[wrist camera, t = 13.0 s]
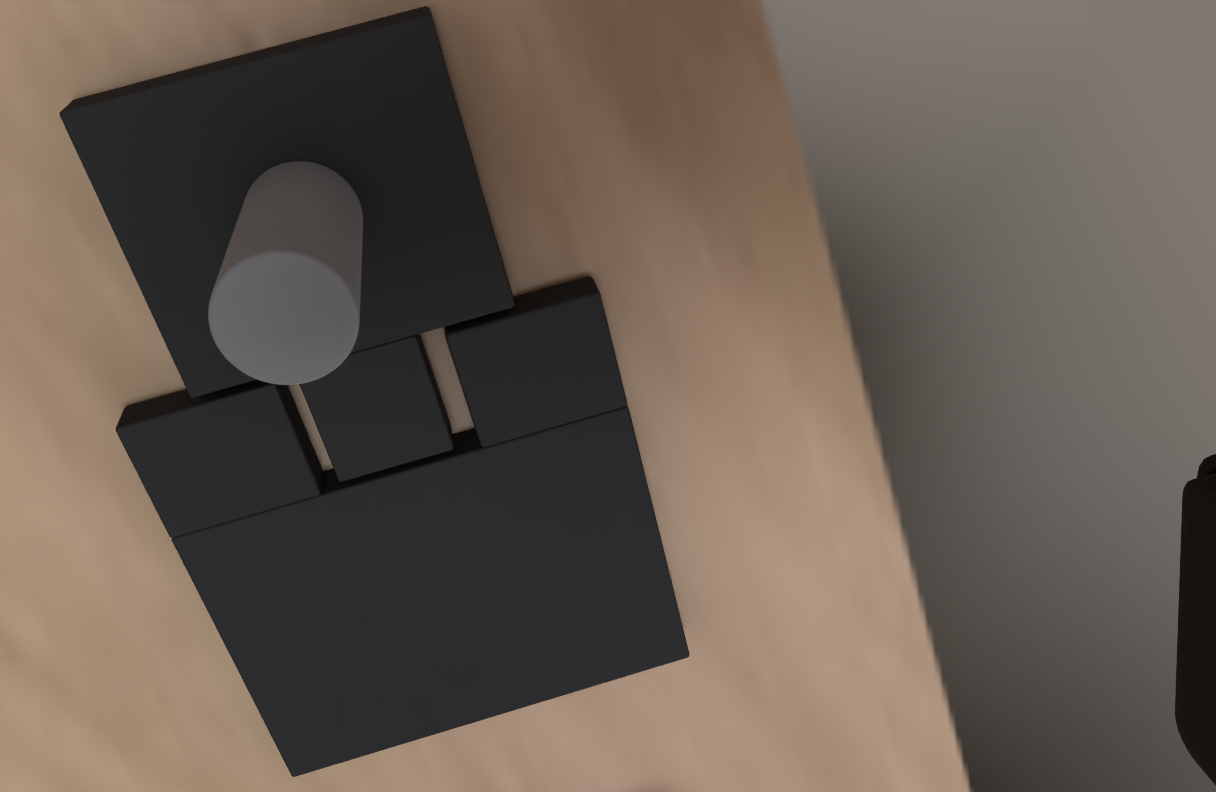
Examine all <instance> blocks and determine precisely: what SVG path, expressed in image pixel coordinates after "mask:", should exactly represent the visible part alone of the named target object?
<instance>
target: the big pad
mask: <svg viewBox="0 0 1216 792" xmlns="http://www.w3.org/2000/svg"><path fill="white" fill-rule="evenodd" d="M513 299H514V302H515V306H514V307H512V308H509V309H505V310H501V311H498V312H494V313H491V314H487V315H484V316H480V317H477V318H473V319H470V320H466V321H463V322H459V323H455V324H452V325H448V326H445V327H444V330H445V337H446V341H447V344H448V347H449V350H450V353H451V356H452V359H453V362H454V365H455V368H456V371H457V374H458V377H459V380H460V383H461V386H462V390H463V393H464V396H465V399H466V402H467V405H468V408H469V411H470V414H471V417H472V420H473V423H474V426H475V430H471V431H468V432H465V433H461V434H458V435H454V436H452V438H453V446H454V448H453V450H450V451H446V452H443V453H440V454H436V455H433V456H429V457H426V458H422V459H419V460H415V461H412V462H408V463H405V464H401V465H398V466H395V467H391V468H388V469H384V470H381V471H377V472H374V473H370V474H367V475H363V476H360V477H357V478H353V479H350V480H346V481H343V482H340V481H339V480H338V477H337V475H336V473H335V470H333V471H329V472H326V473H322V469H321V467H320V464H319V462H318V459H317V457H316V455H315V452H314V450H313V447H312V445H311V443H310V440H309V438H308V435H307V433H306V430H305V428H304V426H303V423H302V421H301V418H300V416H299V413H298V411H297V409H296V406H295V404H294V401H293V399H292V397H291V394H290V392H289V389H288V387H287V385H279V384H272V383H267V382H263V381H260V380H258V379H257V380H254V381H250V382H247V383H243V384H240V385H236V386H233V387H229V388H225V389H222V390H218V391H215V392H211V393H208V394H204V395H201V396H197V397H194V398H192V397H191V396H190V395H189V393H188V391H187V390H185V391H181V392H178V393H174V394H171V395H167V396H164V397H160V398H156V399H153V400H149V401H146V402H142V403H139V404H135V405H132V406H128V407H126V408H124V411H123V413H122V415H121V418H120V420H119V422H118V424H117V427H116V432H117V434H118V436H119V438H120V440H121V442H122V444H123V446H124V448H125V450H126V452H127V454H128V456H129V458H130V459H131V461H132V463H133V465H134V467H135V469H136V471H137V473H138V475H139V477H140V479H141V481H142V483H143V485H144V487H145V489H146V491H147V493H148V495H149V497H150V499H151V501H152V503H153V505H154V507H155V509H156V511H157V512H158V514H159V516H160V518H161V520H162V522H163V524H164V526H165V528H166V530H167V532H168V534H169V536H170V537H171V538H172V542H173V544H174V546H175V547H176V549H177V551H178V553H179V555H180V557H181V559H182V561H183V563H184V565H185V567H186V569H187V571H188V573H189V575H190V577H191V579H192V581H193V583H194V585H195V587H196V589H197V591H198V593H199V595H200V597H201V599H202V601H203V602H204V604H205V606H206V608H207V610H208V612H209V614H210V616H211V618H212V620H213V622H214V624H215V626H216V628H217V630H218V632H219V634H220V636H221V638H222V640H223V642H224V644H225V646H226V648H227V650H228V652H229V654H230V655H231V657H232V659H233V661H234V663H235V665H236V667H237V669H238V671H239V673H240V675H241V677H242V679H243V681H244V683H245V685H246V687H247V689H248V691H249V693H250V695H251V697H252V699H253V701H254V703H255V705H256V707H257V709H258V710H259V712H260V714H261V716H262V718H263V720H264V722H265V724H266V726H267V728H268V730H269V732H270V734H271V736H272V738H273V740H274V742H275V744H276V746H277V748H278V750H279V752H280V754H281V756H282V758H283V760H284V762H285V763H286V765H287V767H288V769H289V771H290V773H291V775H292V776H293V777H295V776H299V775H302V774H305V773H308V772H312V771H315V770H318V769H322V768H325V767H328V766H332V765H335V764H338V763H341V762H345V761H348V760H351V759H355V758H358V757H361V756H364V755H368V754H371V753H374V752H378V751H381V750H384V749H388V748H391V747H394V746H397V745H401V744H404V743H407V742H411V741H414V740H417V739H421V738H424V737H427V736H430V735H434V734H437V733H440V732H444V731H447V730H450V729H453V728H457V727H460V726H463V725H467V724H470V723H473V722H477V721H480V720H483V719H486V718H490V717H493V716H496V715H500V714H503V713H506V712H510V711H513V710H516V709H519V708H523V707H526V706H529V705H533V704H536V703H539V702H542V701H546V700H549V699H552V698H556V697H559V696H562V695H566V694H569V693H572V692H575V691H579V690H582V689H585V688H589V687H592V686H595V685H599V684H602V683H605V682H608V681H612V680H615V679H618V678H622V677H625V676H628V675H631V674H635V673H638V672H641V671H645V670H648V669H651V668H655V667H658V666H661V665H664V664H668V663H671V662H674V661H678V660H681V659H684V658H687V657H689V651H688V647H687V643H686V639H685V635H684V630H683V626H682V622H681V618H680V614H679V610H678V606H677V602H676V598H675V594H674V590H673V586H672V582H671V578H670V574H669V570H668V566H667V562H666V558H665V554H664V550H663V546H662V542H661V537H660V533H659V529H658V525H657V521H656V517H655V513H654V509H653V505H652V501H651V497H650V493H649V489H648V485H647V481H646V477H645V473H644V469H643V465H642V461H641V457H640V453H639V449H638V445H637V440H636V436H635V432H634V428H633V424H632V420H631V416H630V412H629V408H628V406H627V400H626V396H625V392H624V388H623V384H622V380H621V376H620V372H619V368H618V364H617V360H616V356H615V352H614V348H613V344H612V339H611V335H610V331H609V327H608V323H607V319H606V315H605V311H604V307H603V303H602V299H601V295H600V292H599V290H598V288H597V286H596V284H595V282H594V280H593V278H592V277H586V278H583V279H579V280H575V281H572V282H568V283H565V284H561V285H558V286H554V287H551V288H547V289H544V290H540V291H537V292H533V293H529V294H526V295H522V296H519V297H515V298H513Z"/></svg>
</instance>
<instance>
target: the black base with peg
mask: <svg viewBox="0 0 1216 792" xmlns="http://www.w3.org/2000/svg"><path fill="white" fill-rule="evenodd" d="M60 117H61V119H62V121H63V123H64V125H65V127H66V130H67V132H68V134H69V136H70V138H71V140H72V143H73V145H74V147H75V149H76V151H77V153H78V155H79V158H80V160H81V162H82V164H83V166H84V168H85V171H86V173H87V175H88V177H89V179H90V181H91V184H92V186H93V188H94V190H95V192H96V194H97V196H98V199H99V201H100V203H101V205H102V207H103V209H104V212H105V214H106V216H107V218H108V220H109V222H110V224H111V227H112V229H113V231H114V233H115V235H116V237H117V240H118V242H119V244H120V246H121V248H122V250H123V253H124V255H125V257H126V259H127V261H128V263H129V265H130V268H131V270H132V272H133V274H134V276H135V278H136V281H137V283H138V285H139V287H140V289H141V291H142V294H143V296H144V298H145V300H146V302H147V304H148V306H149V309H150V311H151V313H152V315H153V317H154V319H155V322H156V324H157V326H158V328H159V330H160V332H161V335H162V337H163V339H164V341H165V343H166V345H167V347H168V350H169V352H170V354H171V356H172V358H173V360H174V363H175V365H176V367H177V369H178V371H179V373H180V375H181V378H182V380H183V382H184V384H185V386H186V388H187V391H188V393H189V395H190V396H191V397H192V398H194V397H197V396H201V395H204V394H208V393H211V392H215V391H218V390H222V389H225V388H229V387H233V386H236V385H240V384H243V383H247V382H250V381H254V380H257V379H258V380H260V381H263V382H267V383H272V384H279V385H295V384H300V387H301V389H302V391H303V394H304V396H305V399H306V401H307V404H308V406H309V409H310V411H311V414H312V416H313V418H314V421H315V423H316V426H317V428H318V431H319V433H320V436H321V438H322V441H323V443H324V446H325V448H326V450H327V453H328V455H329V458H330V460H331V463H332V465H333V468H334V470H335V473H336V475H337V477H338V480H339V481H340V482H343V481H346V480H350V479H353V478H357V477H360V476H363V475H367V474H370V473H374V472H377V471H381V470H384V469H388V468H391V467H395V466H398V465H401V464H405V463H408V462H412V461H415V460H419V459H422V458H426V457H429V456H433V455H436V454H440V453H443V452H446V451H450V450H453V448H454V446H453V438H452V430H451V425H450V422H449V419H448V416H447V413H446V410H445V407H444V404H443V402H442V399H441V396H440V393H439V390H438V387H437V384H436V381H435V378H434V375H433V372H432V369H431V366H430V363H429V360H428V357H427V354H426V351H425V348H424V346H423V343H422V340H421V337H420V333H424V332H427V331H431V330H434V329H438V328H441V327H445V326H448V325H452V324H455V323H459V322H463V321H466V320H470V319H473V318H477V317H480V316H484V315H487V314H491V313H494V312H498V311H501V310H505V309H509V308H512V307H514V306H515V302H514V299H513V296H512V292H511V289H510V285H509V282H508V278H507V275H506V271H505V268H504V264H503V261H502V257H501V254H500V250H499V247H498V244H497V240H496V237H495V233H494V230H493V226H492V223H491V219H490V216H489V212H488V209H487V206H486V202H485V199H484V195H483V192H482V188H481V185H480V181H479V178H478V174H477V171H476V167H475V164H474V161H473V157H472V154H471V150H470V147H469V143H468V140H467V136H466V133H465V129H464V126H463V122H462V119H461V116H460V112H459V109H458V105H457V102H456V98H455V95H454V91H453V88H452V84H451V81H450V77H449V74H448V71H447V67H446V64H445V60H444V57H443V53H442V50H441V46H440V43H439V39H438V36H437V33H436V29H435V26H434V22H433V19H432V15H431V12H430V9H429V7H422V8H418V9H414V10H410V11H407V12H403V13H399V14H395V15H392V16H388V17H384V18H380V19H377V20H373V21H369V22H365V23H362V24H358V25H354V26H350V27H347V28H343V29H339V30H335V31H332V32H328V33H324V34H320V35H316V36H313V37H309V38H305V39H301V40H298V41H294V42H290V43H286V44H283V45H279V46H275V47H271V48H268V49H264V50H260V51H256V52H253V53H249V54H245V55H241V56H238V57H234V58H230V59H226V60H223V61H219V62H215V63H211V64H207V65H204V66H200V67H196V68H192V69H189V70H185V71H181V72H177V73H174V74H170V75H166V76H162V77H159V78H155V79H151V80H147V81H144V82H140V83H136V84H132V85H129V86H125V87H121V88H117V89H113V90H110V91H106V92H102V93H98V94H95V95H91V96H87V97H83V98H80V99H76V100H73V101H72V102H71V103H70V104H69V105H68V106H67V107H65V108H64V109H63V110H62V111H61V112H60Z"/></svg>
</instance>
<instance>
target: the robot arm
mask: <svg viewBox="0 0 1216 792" xmlns="http://www.w3.org/2000/svg"><path fill="white" fill-rule="evenodd" d="M1179 584H1180V585H1179V611H1178V643H1177V670H1176V699H1175V717H1176V723H1177V727H1178V731H1179V733H1180V736H1181V738H1182V741H1183V743H1184V744H1185V746H1186V748H1187V750H1188V751H1189V753H1190V754H1191V756H1192V757H1193V759H1194V760H1195V761H1196V762H1197V764H1198V765H1199V766H1200V767H1201V768H1202V769H1203V771H1204V772H1205V773H1206V774H1207V775H1208V777H1209V778H1210V779H1211V780H1212V782H1213V783H1214V784H1215V785H1216V454H1215V455H1211V456H1209V457H1207V458H1205V459H1204V460H1203V462H1202V463H1201V465H1200V466H1199V470H1198V475H1197V478H1196V479H1193V480H1191V481H1188V482H1187V484H1186V485H1185V487H1184V490H1183V497H1182V525H1181V555H1180V583H1179Z"/></svg>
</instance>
